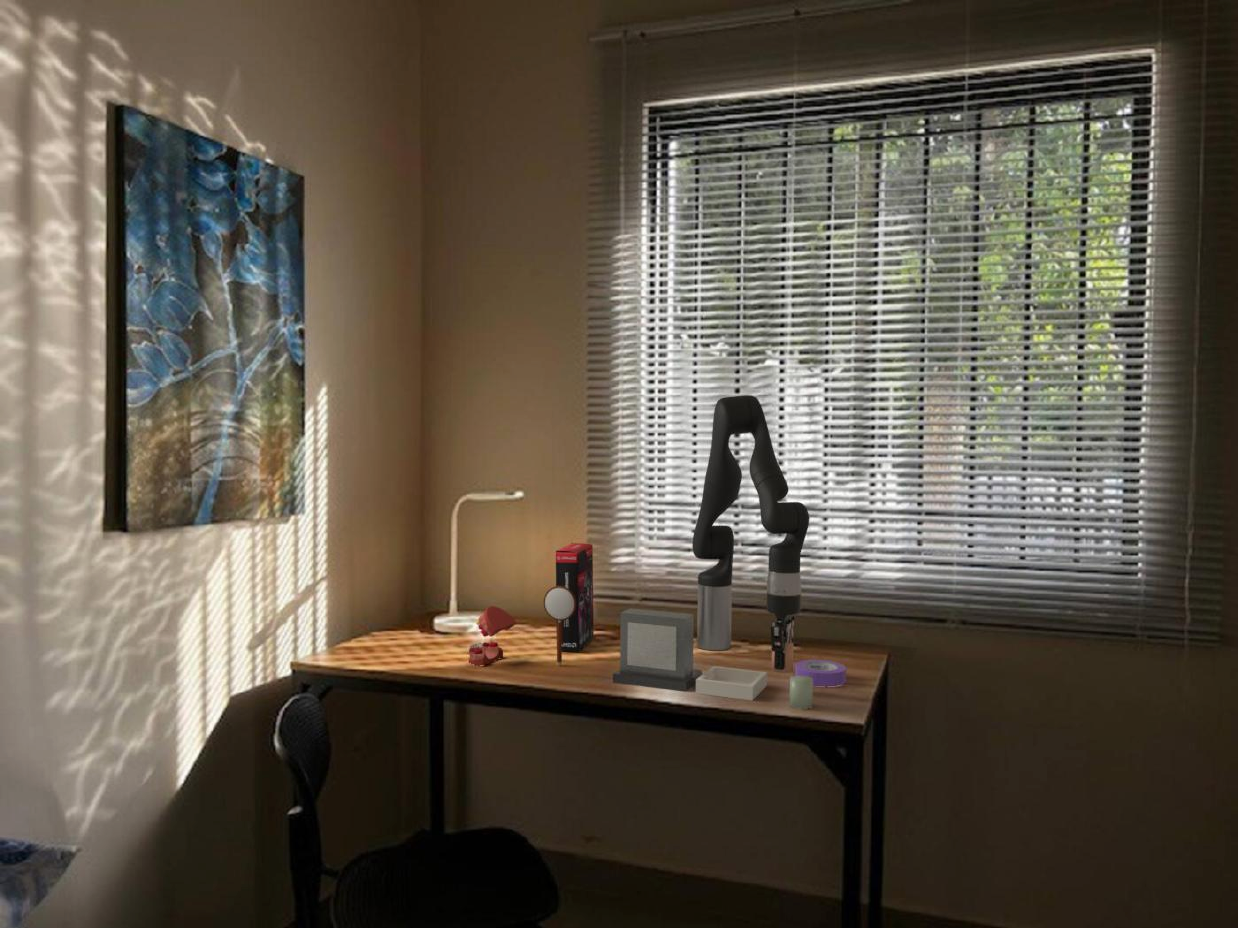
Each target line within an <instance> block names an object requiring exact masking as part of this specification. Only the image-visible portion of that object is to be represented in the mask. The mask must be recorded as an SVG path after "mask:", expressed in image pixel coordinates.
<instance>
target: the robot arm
mask: <svg viewBox="0 0 1238 928" xmlns="http://www.w3.org/2000/svg"><path fill="white" fill-rule="evenodd" d="M712 420H713V421H712V430H711V431H712V432H711V443H710V452H709V456H708V463H707V468H706V473H705V476H704V477H705V478H704V483H703V489H702V498H701V504H700V509H699V513H698V517H697V519H696V524H695V528H694V532H693V535H692V536H693V537H692V552H693V555H694V556H695V558H697V559H698V560H699V559H700V560H718V561H717V563H716V564H715V565H713V566H712V567H711V568H709V569H706V570H703V571H701V572H699V574H698V575H697V620H696V621H697V623H696V624H697V625H696V626H697V627H696V630H697V632H696V633H697V634H696V646H697V648H700V649H703V650H706V651H725V650H726V651H727V650H729V649H731V648H730V647H732V600H733V599H732V597H733V596H732V595H733V593H732V592H733V591H732V589H733V588H732V587H733V586H732V584H733V567H734V566H733V563H734V549H735V548H734V547H735V536H734V535H735V534H734V532H733V529H732V527H731V526H730V525H714V523H716V521H717V519H718V518H720V517H721V515H722V514H724V513H725V512H726V510H728V509H729V508H730V507H731V506H732V505H733V504H734V503H735V502H736V500H737V498H738V496H739V494H740V488H741V482H742V479H743V472H742V469H741V467H740V464H739V462H738V461H737V459H736V457H735V456H734V454H733V452H732V450H731V449H730V444H729V443H730V438H731V436H732V435H740V434H751V435H752V437H753V440H754V446H753V450H752V453H751V457H750V461H749V467H748V468H749V475H750V478H751V481H752V483H753V485H754V486H753V487H754V488H755V491H756V493H757V495H758V502H759V503H758V504H759V509H760V510H759V511H760V512H759V513H760V520H761V524H762V527H763V529H764V530H766V532H768V533H770V534H771V535H784V534H785V537H784V539H783V540H782V541H781V542H778V543H775V544H773V545H771V546H770V547H769V549H768V573H767V579H766V611H767V612H768V613H770V614H774V615H775V617H774V620H773V621H772V625H771V627H770V637H771V639H770V641H771V644H770V645H771V652H772V651H774V652H775V662H774V667H775V669H779V670H783V669H784V668H785V652H786V643H788V642H791V643H793V644H794V637H795V635H794V634H795V621H796V617H795V616H793V615H797V614H800V612H801V601H802V597H801V596H802V579H801V553H802V549H803V546H804V543H805V541H806V540H805V539H806V536H807V533H808V530H809V526H810V525H809V524H810V513H809V511H808V509H807V507H806V505H804V504H803V503H801V502H798V501H790V502H788V501H787V502H785V501H784V502H781V501H782V500H783V499H785V497H786V496H788V494H789V485H788V483H787V480H786V478H785V476H784V473H783V472H782V470H781V467H780V465H779V463H778V461H777V457H776V455H775V450H774V446H773V444H772V440H771V436H770V435H771V434H770V432H769V431H770V430H769V427H768V424H767V420H766V416H765V413H764V410H763V407H762V404H761V402H760V401H759V399H758V398H757V397H756V396H754V395H748V394H746V395H735V396H734V395H733V396H725V397H724V396H723V397H721V398H719V399H718V400H717V402H716V404H715V406H714V411H713V419H712ZM777 643H780V646H777Z"/></svg>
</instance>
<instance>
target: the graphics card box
mask: <svg viewBox="0 0 1238 928" xmlns="http://www.w3.org/2000/svg"><path fill="white" fill-rule="evenodd" d="M593 547H594V546H593V544H591V543H590V544H589V543H585V542H584V543H582V542H581V543H580V542H571V543H570V544H567V545H565V546H563V547H561V548H558V549H557V550H555V586H564V587H566V588H568V589H569V590H570V591H571V592H572V593H573V594H574V596H575V599H576V609H575V612H574V613H573V615H572V616H571V617H570V618H568V619H566V620H562V621H561V622H562V653H563V652H567V653H569V652H570V653H579V652H580V651H582V650H583V648H584V647H585V646H587V645H588V644H589V643H590V642H591V641H593V639H594V637H595V635H594V634H595V633H594V629H595V628H594V567H593V566H594V563H593V562H594V561H593V560H594V559H593V557H594V556H593V555H594V553H593ZM555 621H556V623H555V624H557V622H558V620H555Z"/></svg>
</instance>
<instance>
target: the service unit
mask: <svg viewBox="0 0 1238 928" xmlns="http://www.w3.org/2000/svg"><path fill="white" fill-rule="evenodd" d="M694 620H695V615H694V613H687V612H686V613H684V612H674V611H673V612H672V611H665V610H653V609H642V608H641V609H640V608H631V607H630V608H628V609H626V610H624V611H622V612H620V629H619V630H620V632H619V633H620V636H619V637H620V639H619V640H620V641H619V642H620V644H619V645H620V646H619V648H620V649H619V651H620V652H619V669H618V670H616V671H614V672H613V673H612V683H615V684H616V683H617V684H624V685H634V686H640V687H641V686H642V687H648V688H656V689H665V690H672V691H680V692H687V691H688V690H689V689H690V688H692V687H694V686H696V679H697V678H699V677H700V676H701V675H702V674H703V670H702V669H696V668H694V636H695V634H694V632H695V631H694V630H695V629H694V626H695V625H694V624H695V623H694V622H695V621H694Z"/></svg>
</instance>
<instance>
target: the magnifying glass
mask: <svg viewBox="0 0 1238 928" xmlns="http://www.w3.org/2000/svg"><path fill="white" fill-rule="evenodd" d="M543 609H544V610H545V612H546V614H547V615H548V616H549V617H550V618H551V619H552V620H555V621H556V620H558V622H557V623H556V662H557V665H558V666H559V667H560V666H561V665H562V662H563V661H562V660H563V656H562V655H563V652H562V622H561V621H562V620H566V619H568V618H570V617H571V616H572V615H573V613H574V612H575V609H576V599H575V596H574V594H573V593H572V592H571V591H570V590H569V589H568V588H566V587H564V586H556V585H555V586H553V587H551V588H550V589H548V590H547V591H546V593H545V594H544V597H543Z"/></svg>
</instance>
